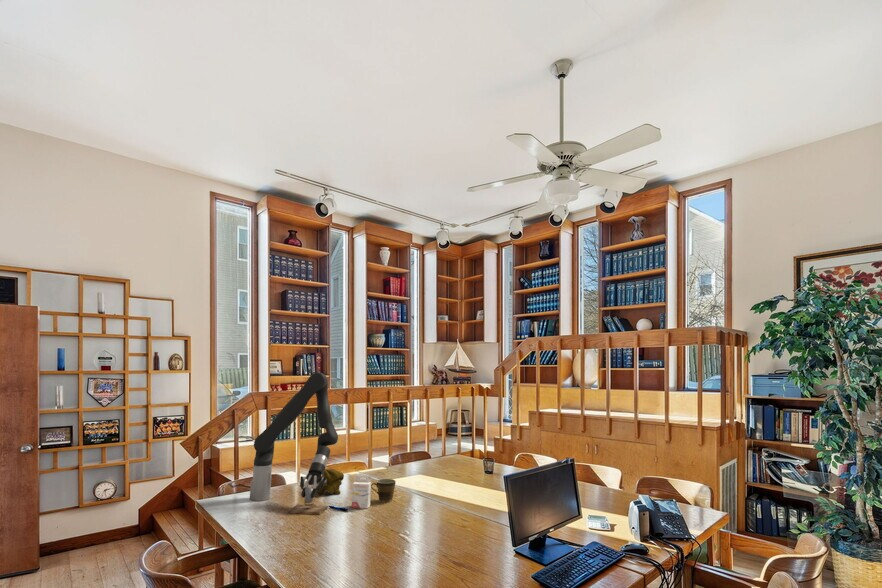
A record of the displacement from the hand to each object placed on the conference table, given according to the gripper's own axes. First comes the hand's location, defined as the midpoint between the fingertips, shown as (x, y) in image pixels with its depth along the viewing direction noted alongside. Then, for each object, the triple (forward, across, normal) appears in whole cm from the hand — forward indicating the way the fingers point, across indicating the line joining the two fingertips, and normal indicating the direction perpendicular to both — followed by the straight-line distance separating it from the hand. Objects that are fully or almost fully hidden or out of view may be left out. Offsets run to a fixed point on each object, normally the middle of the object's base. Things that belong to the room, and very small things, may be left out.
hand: (307, 496), depth 230 cm
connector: (+2, 0, +4) cm, 4 cm away
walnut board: (+4, 0, +6) cm, 7 cm away
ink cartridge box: (-4, +23, +14) cm, 27 cm away
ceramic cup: (-12, +31, +23) cm, 40 cm away
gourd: (-20, -3, +30) cm, 36 cm away
